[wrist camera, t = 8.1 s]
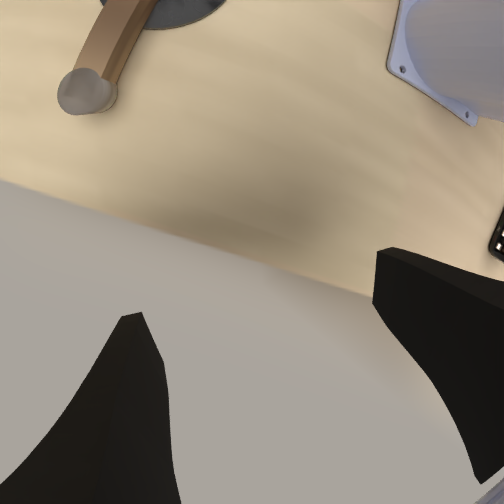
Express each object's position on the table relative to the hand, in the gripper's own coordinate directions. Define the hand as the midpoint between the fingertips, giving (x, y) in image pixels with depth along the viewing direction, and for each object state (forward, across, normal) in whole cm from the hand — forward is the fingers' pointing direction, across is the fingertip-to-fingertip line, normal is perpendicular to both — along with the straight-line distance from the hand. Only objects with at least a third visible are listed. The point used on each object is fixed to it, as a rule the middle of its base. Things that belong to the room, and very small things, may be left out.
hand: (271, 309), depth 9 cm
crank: (+9, +1, -13) cm, 16 cm away
